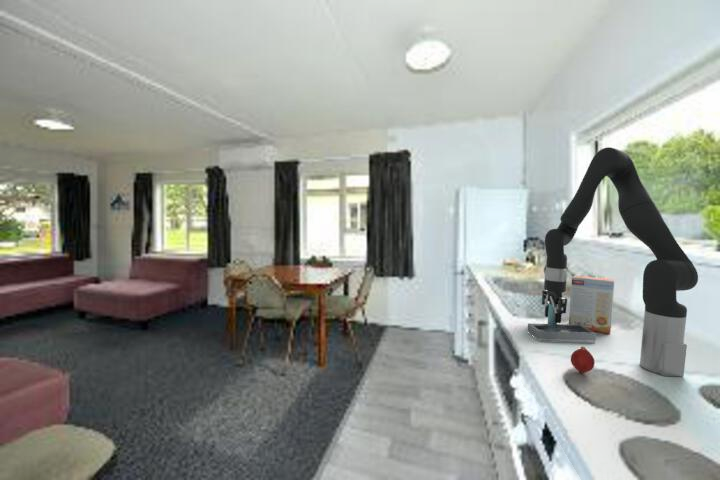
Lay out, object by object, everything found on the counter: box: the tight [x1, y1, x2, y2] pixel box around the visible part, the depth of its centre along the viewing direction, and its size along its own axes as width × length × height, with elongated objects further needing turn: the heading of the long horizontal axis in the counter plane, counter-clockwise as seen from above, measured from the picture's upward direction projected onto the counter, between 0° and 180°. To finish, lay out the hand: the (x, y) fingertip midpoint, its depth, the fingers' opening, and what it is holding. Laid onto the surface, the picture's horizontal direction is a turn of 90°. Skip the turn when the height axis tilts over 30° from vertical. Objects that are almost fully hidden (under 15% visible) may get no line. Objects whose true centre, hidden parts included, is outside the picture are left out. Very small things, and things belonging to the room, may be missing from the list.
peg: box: [547, 304, 558, 324], centre depth 136 cm, size 6×6×10 cm
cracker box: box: [568, 275, 615, 335], centre depth 137 cm, size 14×6×21 cm, turn 52°
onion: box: [570, 346, 595, 374], centre depth 98 cm, size 6×6×8 cm
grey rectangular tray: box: [527, 323, 597, 344], centre depth 127 cm, size 9×20×4 cm, turn 88°
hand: (552, 319), depth 136 cm, fingers open, 7 cm apart
